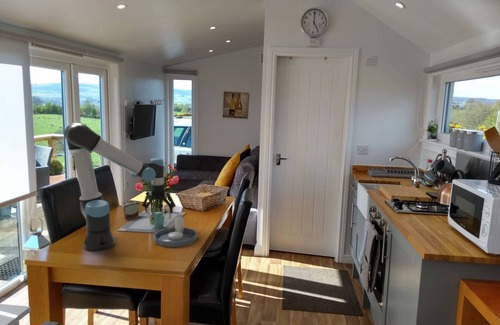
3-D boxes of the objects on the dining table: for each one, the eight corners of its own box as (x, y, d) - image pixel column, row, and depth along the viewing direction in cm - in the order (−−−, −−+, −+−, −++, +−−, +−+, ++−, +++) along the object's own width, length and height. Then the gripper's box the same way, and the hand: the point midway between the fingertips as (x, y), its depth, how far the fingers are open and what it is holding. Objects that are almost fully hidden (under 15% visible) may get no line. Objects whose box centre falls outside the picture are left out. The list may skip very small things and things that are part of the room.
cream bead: (182, 235, 217) (182, 220, 215) (174, 234, 217) (173, 219, 216) (184, 232, 222) (184, 217, 220) (176, 231, 222) (176, 217, 221)
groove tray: (190, 248, 200) (190, 243, 199) (147, 245, 202) (147, 240, 202) (201, 232, 223) (201, 228, 222) (162, 230, 225) (162, 226, 225)
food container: (135, 213, 258) (134, 199, 256) (140, 215, 254) (139, 201, 252) (118, 218, 248) (118, 203, 247) (124, 220, 244) (123, 205, 243)
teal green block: (161, 228, 229) (161, 214, 228) (153, 228, 229) (153, 214, 228) (164, 226, 234) (163, 212, 232) (156, 225, 234) (156, 211, 233)
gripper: (179, 183, 230) (181, 216, 233) (140, 182, 232) (142, 215, 236) (176, 185, 222) (177, 220, 226) (135, 184, 225) (137, 219, 229)
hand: (159, 218), depth 231 cm, fingers open, 13 cm apart
